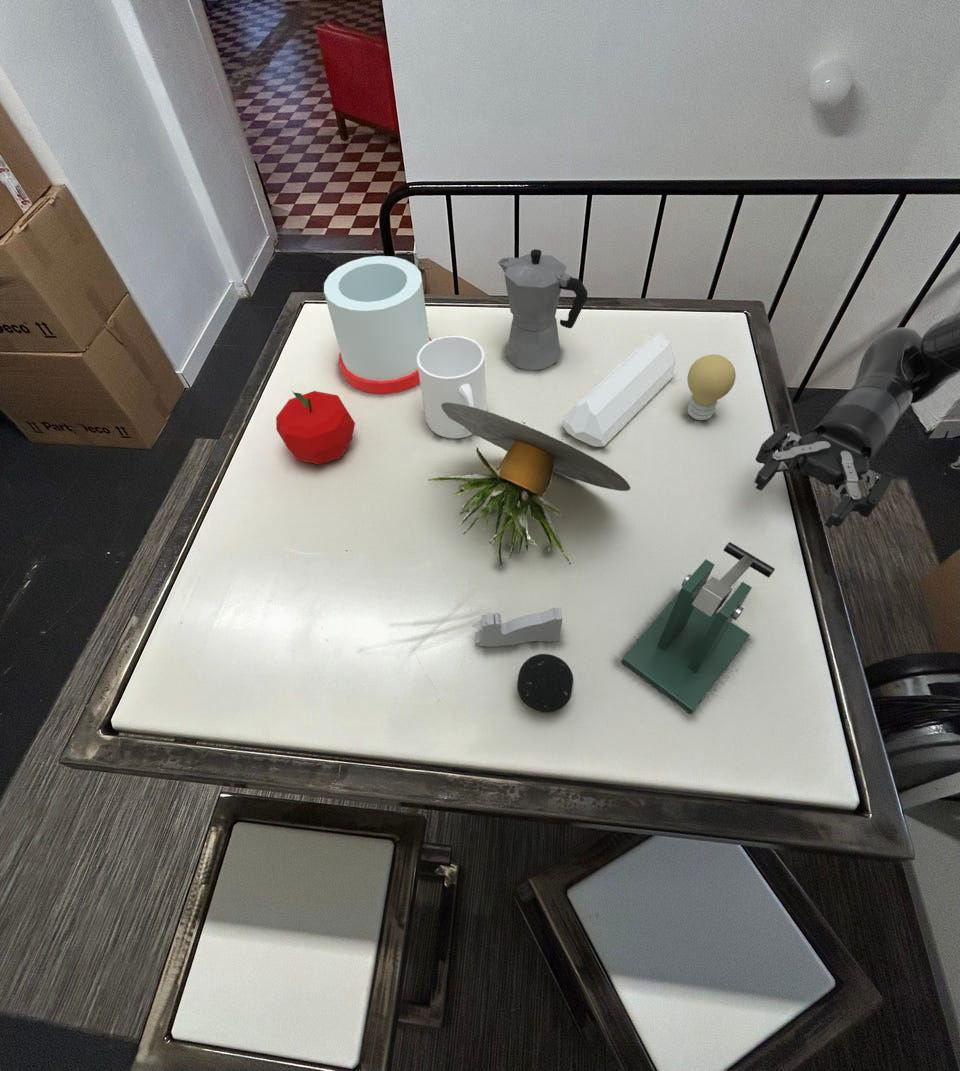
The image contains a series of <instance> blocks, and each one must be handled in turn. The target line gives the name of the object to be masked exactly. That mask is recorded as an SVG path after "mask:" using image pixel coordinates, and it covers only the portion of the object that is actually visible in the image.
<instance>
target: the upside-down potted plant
mask: <svg viewBox="0 0 960 1071" xmlns="http://www.w3.org/2000/svg"><path fill="white" fill-rule="evenodd" d="M441 407H442V409H443V411H444V412H445V413H446V415H447V416H448V417H449V418H450V419H452V420H453V421H455V422H457V423H459V424H460V425H462V426H463V427H465V428H466V429H467V430H468V431H469V432H471V433H472V435H473V436H476V437H480V438H481V439H483V440H484V441H487V442H488V443H491V444H492V445H494V446H496V447H498V448H501V449H502V450H504V451H505V452H506V453H505V454H504V456H503V458H502V460H501V462H500V463H499V465H498V467H497V468H496V467H494V466H493V465H492V464H491V463H490V462H489V461H488V460H487V459H486V457H485V456H484V455H483V454H482V452H481V451H480V449H479V447H477V446H476V450H475V452H476V454H477V456H478V459H479V460H480V462H481V464H482V465H483V466H484V467H485V469H486V470H487V471H488V473H490V474H485V473H468V474H455V475H450V476H444V477H443V476H442V477H441V476H440V477H434V478H428V479H427V481H428V482H433V481H434V482H437V481H440V482H443V481H455V482H466V483H464V484H460V485H459V486H458V488H459V489H460V490H458V491H457V492H456V493H454V494H453V497H454V498H455V497H458V496H461V495H463V494H464V493H467V492H469V491H471V490H472V491H473V490H474V489H478V488H481V489H479V490H477V492H475V493H474V494H473V495H472V496H471V497H470V498H469V499H467V500H466V501H465V502H464V503H463V505H462V506H461V510H460V511H459V515H463V514H464V513H466V515H465V516H464V517H463V518H462V519H461V521H460V522H459V526H462V525H463V524H464V523H465V521H467V519H468V518H469V517H471V516H472V515H473V514H474V513H475V512H476V511H477V510H479V509H480V510H479V513H478V514H477V515H476V517H475V518H474V519H473V522H472V523H471V524H470V525H469V526H468V528H466V529H464V530H463V532H462V536H465V535H466V533H467V532H468V531H469V530H470V529H471V528H472V527H473V526H474V525H475V524H476V522H478V520H479V519H480V518H481V516H483V515H486V519H485V526H484V528H483V530H486V529H487V527H488V523H489V521H490V516H491V514H492V511H494V510H496V516H495V522H494V523H495V524H494V532H493V536H492V538H491V539H489V541H488V542H489V545H491V547H492V548H494V547H495V545H496V543H498V546H497V548H498V549H497V554H498V563H499V566H500V567H502V566H503V561H502V559H503V558H502V544H503V542H502V541H504V535H505V531H506V530H507V529H508V528H510V540H509V548H510V550H509V554H508V560H511V557H512V555H513V552H514V550H515V547H516V546H517V543H518V548H517V554H518V555H519V554H520V552H521V550H522V548H523V543H524V542H525V543H524V549H525V551H527V552H528V551H529V545H528V543H530V544H531V545H533V546H535V547H538V544H537V543H536V542H535V540H534V539H533V538H532V536H530V534H529V531H528V530H529V525H528V523H529V522H528V521H529V519H528V517H527V514H528V511H529V516H530V517H531V518H533V520H534V521H537V522H539V524H540V526H541V528H542V529H543V531H544V533H545V535H546V538H547V540H548V542H549V543H548V548H547V553H550V551H551V549H552V546H553V543H554V544H555V546H556V548H558V550H559V551H560V552H561V553H562V555H563V557H564V559H565V560H566V561H567V562H568V565H572V562H571V561H570V559H569V558H568V556H567V555H566V553H565V550H564V548H563V545H562V543H561V541H560V538H559V535H558V533H557V532H556V529H555V526H554V524H553V522H552V519H551V517H550V514H549V513H548V512H547V511H546V509H547V510H549V511H550V512H553V513H555V514H556V515H557V516H559V517H560V516H562V514H561V510H560V509H559V508H558V507H556V506H555V505H554V504H553V503H552V502H550V501H549V500H546V499H545V498H544V497H543V496H544V495H545V494H546V492H547V491H548V488H549V486H550V485H551V482H552V477H553V472H554V473H557V474H560V475H562V476H563V477H566V478H569V479H572V480H575V481H579V482H582V483H586V484H588V485H592V486H594V487H598V488H603V489H608V490H613V491H620V492H627V491H630V490H631V485H630V483H629V482H628V481H627V480H626V479H625V478H624V477H623V476H622V475H621V474H619V473H618V472H617V471H615V470H614V469H612V468H611V467H610V466H608V465H606V464H604V462H602V461H599V460H598V459H596V458H595V457H592V456H591V455H589V454H587V453H585V452H583V451H581V450H579V449H578V448H576V447H573V446H572V445H570V444H567V443H565V442H563V440H564V438H561V440H562V441H561V440H560V439H557V438H555V437H552V436H550V435H548V434H546V433H543V432H542V431H540V430H537V429H535V428H533V427H530V426H528V425H526V422H523V421H521V422H522V423H520V422H517V421H515V420H511V419H509V418H507V417H504V416H501V415H499V414H496V413H494V412H490V411H488V410H487V411H484V410H481V409H478V408H473V407H469V406H465V405H461V404H455V403H443V404H442V405H441ZM482 487H483V488H482ZM471 508H472V509H471ZM470 509H471V511H470ZM503 512H504V513H505V512H506V515H505V517H504V520H503V524H502V527H501V528H500V524H501V520H502V517H503ZM499 528H500V530H499ZM497 538H498V542H497V541H496V540H497ZM518 539H519V542H518Z"/></svg>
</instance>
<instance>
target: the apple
mask: <svg viewBox="0 0 960 1071" xmlns="http://www.w3.org/2000/svg"><path fill="white" fill-rule="evenodd" d="M291 392H292V394H293V396H294V397H292V398H289V399H288V400H287V402H286V403H285V404H284V405H283V407H282V409H281V410H280V412H279V413H278V414H277V415H276V416H275V421H276V422H275V425H276V427H275V428H276V429H275V430H276V432H277V433H278V435H279V437H280V439H281V441H283V443H284V445H285V446H286V448H287V449H288V451H290V453H291V454H292V456H294V458H295V459H296V460H297V461H301V462H305V463H306V462H307V463H310V464H316V465H322V464H325V463H328V462H331V461H334V460H337V459H340V458H341V457H343V455H344V453H345V451H346V450H347V448H348V447H349V445H350V443H351V442H352V440H353V436H354V431H355V427H356V423H355V421H354V419H353V418H352V416H351V414H350V413H349V411H348V409H347V408H346V406H345V404H344V403H343V402H342V400H341V398H340V396H339V395H338V394H333V393H328V392H322V391H317V390H313V391H309V392H307V393H304V394H302V393H300V392H294V391H293V390H291Z"/></svg>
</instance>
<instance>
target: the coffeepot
mask: <svg viewBox="0 0 960 1071" xmlns="http://www.w3.org/2000/svg"><path fill="white" fill-rule="evenodd" d="M542 253H543V252H542V250H540V249H536V248H534V249H532V250H530V253H527V254H525V255H523V256H520V257H507V258H506V257H504V258H502V259H500V260H499V261H498V262H497V264H498V265H499V266H500V267H501V269H502V271H503V273H504V282H505V287H506V293H507V300H508V305H509V311H510V313H511V314H512V321H511V325H510V332H509V335H508V336H509V338H508V342H507V349H506V354H505V358H507V360H508V361H509V362H510V363H511V365H512V366H514V367H516V368H518V369H520V370H523V371H524V370H525V371H531V372H532V371H533V372H534V371H541V370H546V369H549V367H552V366H553V365H554V364H555V363H557V362H558V359H559V355H560V350H561V346H560V338H559V330H558V322H557V318H556V315H557V311H558V306H559V300H560V296H561V292H562V290H564V291H571V292H574V295H575V297H574V299H573V302H572V306H571V308H570V310H569V311H568V314H567V315H568V317H567V320H564V319H560V320H559V325H560V326H561V327H563V328H566V329H572V328H574V325H575V324H576V321H577V319H578V318H579V315H580V314H581V312H582V309H583V308H584V306H585V304H586V303H587V299H588V294H589V293H588V290H587V288H586V287H585V285H584V283H583V282H582V280H580V279H579V278H575V277H572V275H570V274H567V273H566V270H567V265H566V264H564V263H563V262H562V261H560V260H558V259H557V258H556V257H555V256H553V255H546V254H542Z"/></svg>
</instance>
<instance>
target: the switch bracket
mask: <svg viewBox="0 0 960 1071" xmlns="http://www.w3.org/2000/svg"><path fill="white" fill-rule="evenodd" d="M714 567H715V563H713V562H711V561H710V560H709V559H706V558H705V559H704V560H703V562H702V563H701V564H700V565H699V566H698V567H697V569H696V570H694V572H693V573H692V574H690V573H689V574H687V575H686V577H684V579H683V581H682V582H681V588H680V590H679V591H678V593H677V594H676V595H675V596H674V597H673V598H672V600H671V601H669V603H668V605H666V607H665V608H664V609H663V610H662V611H661V612H660V613H659V615H658V616H657V617H656V618H655V619H654V620H653V622H652V623H651V624H650V626H648V628H646V630H645V631H644V632H643V633H642V635H641V636H640V637H639V638H638V639H637V640H636V641H635V643H634V644H633V645H632V646H631V647H630V649H629V650H628V651H627V652H626V654H624V655H623V657H622V659H621V664H623V665H624V666H625V667H626V668H628V669H629V670H631V671H632V672H633V673H635V674H636V675H637V676H639V677H640V678H641V679H642V680H644V681H646V682H647V683H648V684H649V685H651V687H653V688H655V689H656V690H657V691H659V692H660V693H661V694H663V695H664V696H665V697H667V698H668V699H669V700H671V701H672V702H673V703H674V704H676V705H678V706H679V707H680V708H681V709H683V710H684V711H685V712H687V714H690V715H692V713H694V711H695V710H696V708H697V707H698V705H699V704H700V703H701V701H702V700H704V698H705V696H707V693H709V691H710V689H711V688H712V687H713V686H714V685H715V683H716V682H717V680H718V679H719V678H720V677H721V675H722V673H723V672H724V671H725V669H726V668H727V667H728V666H729V664H730V663H731V662H732V660H733V659H734V657H735V656H736V655H737V654H738V652H739V651H740V650H741V648H742V647H743V645H745V643H746V641H747V640H748V638H749V637H750V633H748V632H747V631H745V630H744V629H742V628H741V627H740V626H737V625H736V624H735V623H733V620H734V621H737V620H738V618H739V617H740V616H741V615H742V613H743V611H744V608H743V607H742V606H743V604H744V602H745V600H746V599H747V597H748V595H749V594H750V592H751V590H752V588H753V587H752V586H750V585H749V584H747V583H746V582H744V581H741V583H740V584H739V586H738V587H737V588H736V589H735V591H734V592H733V593H732V594H731V596H730V597H729V598H727V600H726V601H725V602H724V603H723V605H722V606H721V608H720V609H719V610H718V611H717V612H716V613H715V614H714V615H713V616H712V617H710V616H708V615H707V614H705V613H703V612H702V611H700V610H699V609H697V608H696V607H694V606H693V605H692V603H693V601H694V599H695V598H696V596H697V594H698V593H699V591H700V589H701V588H702V586H703V585H704V584H706V583H707V582H708V581H709V578H710V575H711V574H712V572H713V569H714Z"/></svg>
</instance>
